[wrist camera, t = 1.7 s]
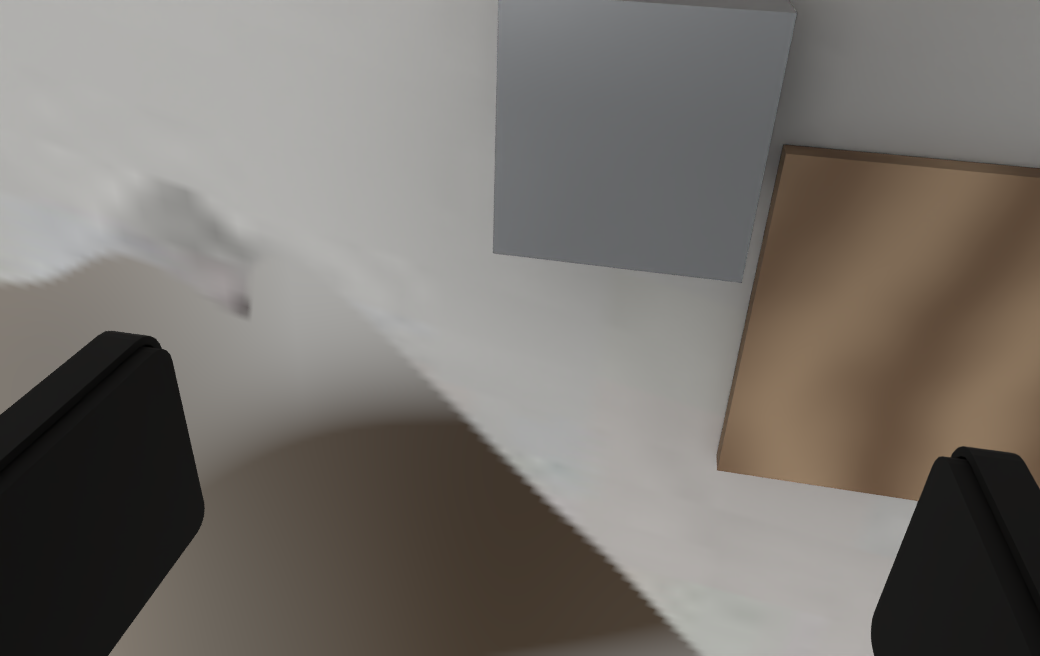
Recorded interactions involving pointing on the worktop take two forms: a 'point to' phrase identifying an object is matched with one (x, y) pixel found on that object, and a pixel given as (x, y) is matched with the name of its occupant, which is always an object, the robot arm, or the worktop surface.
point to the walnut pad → (888, 322)
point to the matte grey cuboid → (636, 130)
